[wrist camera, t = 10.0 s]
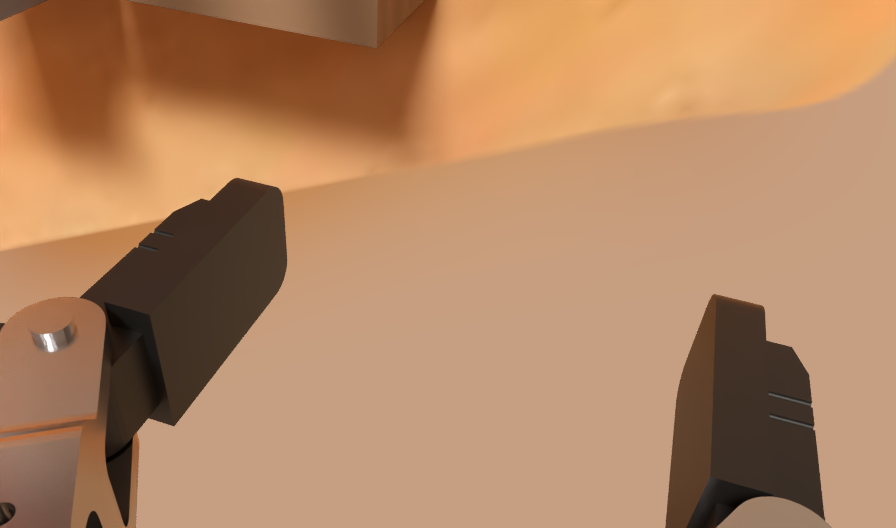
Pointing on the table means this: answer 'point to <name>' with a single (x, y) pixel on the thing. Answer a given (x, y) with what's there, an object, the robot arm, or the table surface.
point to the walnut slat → (309, 16)
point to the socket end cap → (15, 7)
